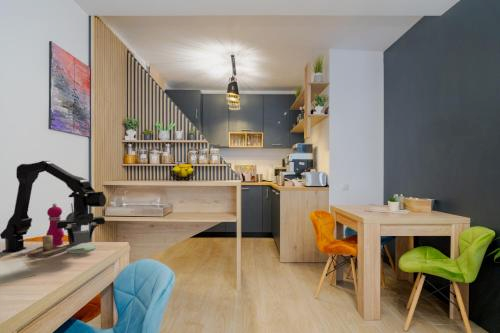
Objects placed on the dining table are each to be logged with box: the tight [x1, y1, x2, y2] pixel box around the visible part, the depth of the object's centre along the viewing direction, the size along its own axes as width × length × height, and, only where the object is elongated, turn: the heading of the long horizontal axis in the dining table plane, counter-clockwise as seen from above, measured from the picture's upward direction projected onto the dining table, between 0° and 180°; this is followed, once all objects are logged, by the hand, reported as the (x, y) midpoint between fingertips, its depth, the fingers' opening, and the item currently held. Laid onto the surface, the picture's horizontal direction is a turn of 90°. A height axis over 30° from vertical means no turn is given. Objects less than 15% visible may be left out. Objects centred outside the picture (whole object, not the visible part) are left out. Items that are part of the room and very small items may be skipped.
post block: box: [27, 235, 68, 258], centre depth 128 cm, size 10×10×8 cm
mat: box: [67, 244, 97, 254], centre depth 133 cm, size 11×11×1 cm
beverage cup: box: [65, 203, 82, 246], centre depth 143 cm, size 7×7×20 cm
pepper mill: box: [45, 203, 65, 247], centre depth 143 cm, size 7×7×20 cm
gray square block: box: [73, 229, 91, 245], centre depth 133 cm, size 6×6×4 cm
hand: (81, 241), depth 133 cm, fingers closed on gray square block, 6 cm apart
